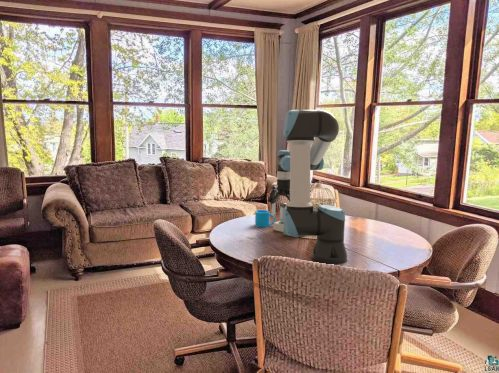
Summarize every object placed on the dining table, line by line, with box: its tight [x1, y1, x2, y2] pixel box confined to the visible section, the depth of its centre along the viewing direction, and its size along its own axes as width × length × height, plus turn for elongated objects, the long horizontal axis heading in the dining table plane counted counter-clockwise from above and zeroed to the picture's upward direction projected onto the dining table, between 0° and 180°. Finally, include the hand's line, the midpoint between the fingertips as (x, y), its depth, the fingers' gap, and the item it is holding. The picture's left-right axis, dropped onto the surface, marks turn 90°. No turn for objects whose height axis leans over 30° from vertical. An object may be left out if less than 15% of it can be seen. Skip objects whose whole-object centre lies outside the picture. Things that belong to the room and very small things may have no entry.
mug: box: [254, 209, 276, 228], centre depth 236 cm, size 12×8×8 cm
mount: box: [273, 220, 284, 233], centre depth 227 cm, size 7×7×4 cm
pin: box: [279, 202, 288, 224], centre depth 226 cm, size 4×4×15 cm
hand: (283, 216), depth 226 cm, fingers open, 13 cm apart
